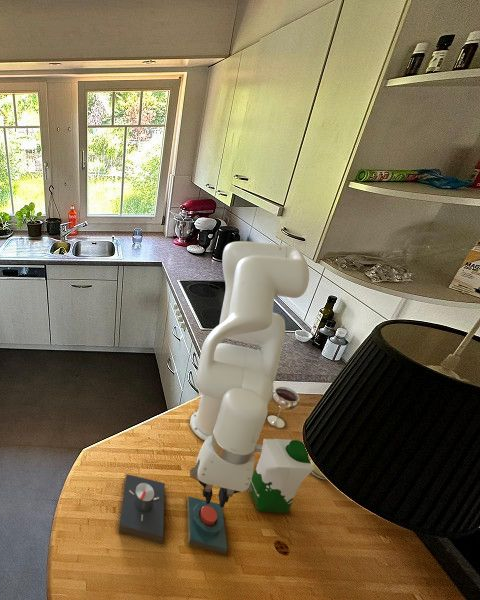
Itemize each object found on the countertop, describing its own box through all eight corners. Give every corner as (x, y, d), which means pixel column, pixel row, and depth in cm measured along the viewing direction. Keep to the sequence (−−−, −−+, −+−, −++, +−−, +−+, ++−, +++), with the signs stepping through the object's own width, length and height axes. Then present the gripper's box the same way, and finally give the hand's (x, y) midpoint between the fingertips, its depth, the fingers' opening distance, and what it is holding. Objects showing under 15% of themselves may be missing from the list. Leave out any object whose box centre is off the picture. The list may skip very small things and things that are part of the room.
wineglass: (271, 430, 102) (282, 402, 97) (260, 413, 108) (270, 386, 103) (292, 429, 102) (304, 402, 97) (280, 413, 108) (291, 386, 103)
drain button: (199, 508, 78) (200, 503, 77) (215, 512, 77) (216, 507, 76) (200, 523, 75) (201, 519, 74) (216, 527, 74) (218, 523, 73)
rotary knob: (138, 490, 82) (140, 478, 80) (155, 500, 80) (157, 488, 78) (131, 505, 79) (132, 493, 77) (148, 515, 77) (150, 504, 75)
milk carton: (293, 517, 79) (321, 465, 70) (255, 515, 80) (279, 463, 70) (276, 482, 87) (299, 431, 78) (242, 481, 88) (261, 430, 78)
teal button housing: (187, 501, 83) (189, 492, 81) (220, 509, 81) (223, 500, 79) (188, 544, 74) (191, 534, 72) (225, 554, 73) (229, 545, 71)
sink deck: (125, 480, 88) (126, 473, 86) (163, 490, 85) (164, 482, 84) (118, 531, 77) (119, 524, 75) (161, 544, 74) (163, 536, 73)
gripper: (271, 437, 65) (249, 492, 74) (188, 421, 69) (176, 475, 78) (281, 471, 59) (256, 526, 68) (190, 451, 62) (177, 506, 71)
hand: (213, 498), depth 72 cm, fingers closed
